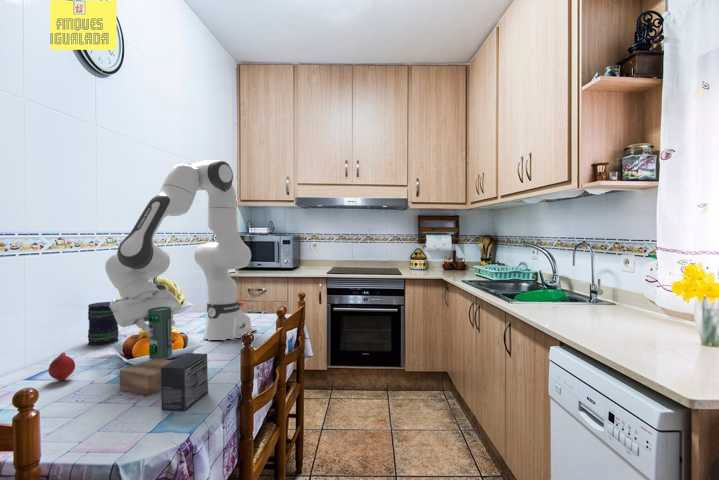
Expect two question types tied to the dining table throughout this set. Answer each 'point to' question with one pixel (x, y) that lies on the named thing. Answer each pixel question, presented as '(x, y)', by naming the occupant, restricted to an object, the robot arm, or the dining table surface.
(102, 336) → the storage jar
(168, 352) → the can
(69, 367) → the onion
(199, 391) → the small box
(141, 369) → the brown cardboard box
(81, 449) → the dining table surface
